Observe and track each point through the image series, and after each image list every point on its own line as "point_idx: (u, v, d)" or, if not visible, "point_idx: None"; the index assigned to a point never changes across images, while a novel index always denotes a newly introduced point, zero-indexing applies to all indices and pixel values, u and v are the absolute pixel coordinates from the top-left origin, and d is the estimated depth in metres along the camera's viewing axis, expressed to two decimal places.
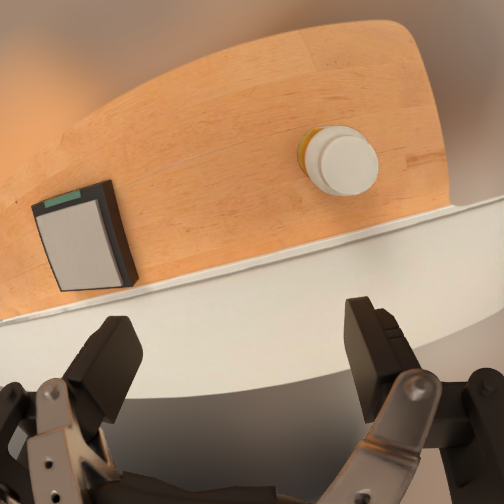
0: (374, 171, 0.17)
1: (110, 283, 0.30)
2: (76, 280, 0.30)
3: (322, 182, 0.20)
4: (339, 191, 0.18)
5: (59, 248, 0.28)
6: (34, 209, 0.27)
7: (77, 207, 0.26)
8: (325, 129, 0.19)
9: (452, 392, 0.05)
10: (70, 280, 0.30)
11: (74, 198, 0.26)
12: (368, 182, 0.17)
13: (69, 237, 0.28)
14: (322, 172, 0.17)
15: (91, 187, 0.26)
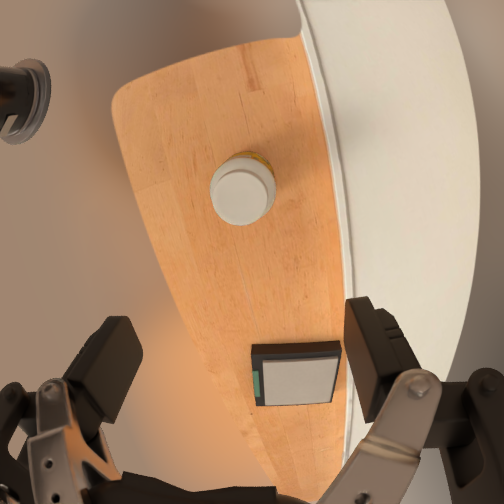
0: (244, 176, 0.19)
1: (333, 366, 0.36)
2: (324, 389, 0.38)
3: None
4: (263, 210, 0.20)
5: (294, 395, 0.38)
6: (259, 404, 0.41)
7: (265, 375, 0.37)
8: None
9: (452, 392, 0.05)
10: (323, 393, 0.38)
11: (258, 375, 0.38)
12: (255, 182, 0.20)
13: (287, 386, 0.38)
14: (245, 224, 0.21)
15: (252, 362, 0.37)
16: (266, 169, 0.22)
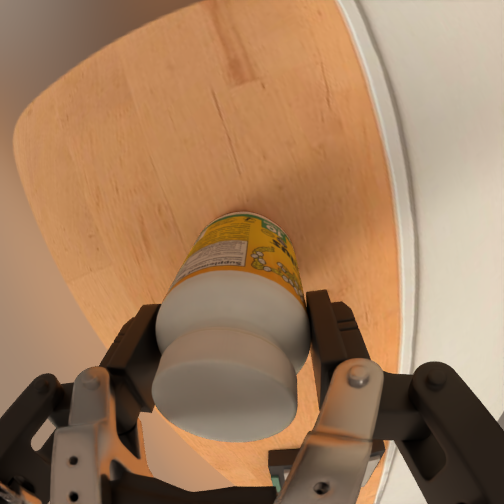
0: (227, 373, 0.06)
1: (373, 464, 0.22)
2: None
3: None
4: (285, 426, 0.07)
5: None
6: None
7: None
8: None
9: (399, 384, 0.06)
10: None
11: (278, 479, 0.24)
12: (260, 384, 0.06)
13: None
14: (244, 440, 0.08)
15: (270, 471, 0.23)
16: (287, 301, 0.08)
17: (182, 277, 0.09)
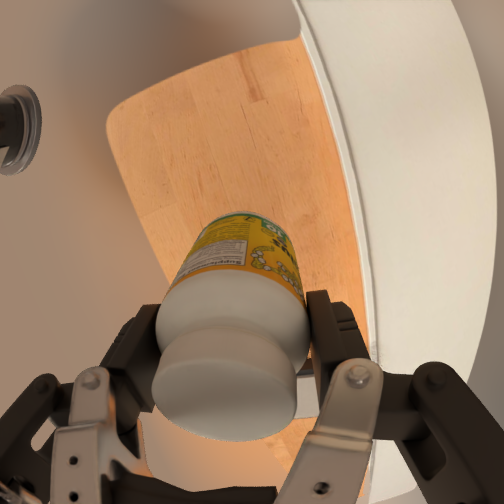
0: (226, 371, 0.06)
1: None
2: None
3: None
4: (284, 425, 0.07)
5: None
6: None
7: None
8: None
9: (399, 384, 0.06)
10: None
11: None
12: (260, 383, 0.06)
13: (311, 400, 0.36)
14: (244, 440, 0.08)
15: None
16: (287, 300, 0.08)
17: (182, 276, 0.09)
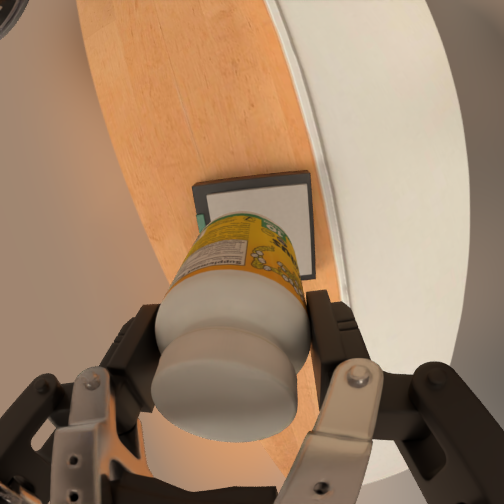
0: (226, 372, 0.06)
1: (303, 198, 0.28)
2: (299, 246, 0.30)
3: None
4: (285, 426, 0.07)
5: None
6: None
7: (213, 219, 0.29)
8: None
9: (399, 384, 0.06)
10: (299, 255, 0.31)
11: (205, 225, 0.30)
12: (260, 384, 0.06)
13: None
14: (244, 441, 0.08)
15: (195, 200, 0.29)
16: (287, 300, 0.08)
17: (182, 276, 0.09)
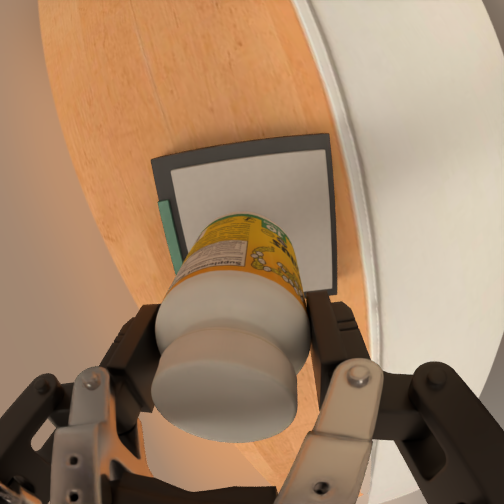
0: (226, 373, 0.06)
1: (319, 171, 0.17)
2: (314, 247, 0.20)
3: None
4: (285, 426, 0.07)
5: None
6: None
7: (181, 208, 0.19)
8: None
9: (399, 384, 0.06)
10: (314, 261, 0.20)
11: (172, 216, 0.20)
12: (260, 384, 0.06)
13: None
14: (244, 441, 0.08)
15: (156, 179, 0.19)
16: (287, 301, 0.08)
17: (182, 277, 0.09)
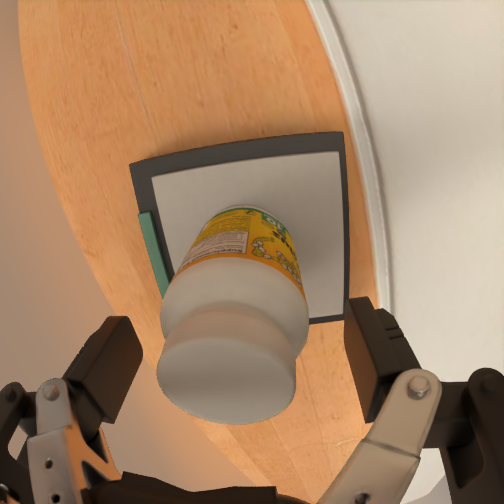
0: (229, 350, 0.07)
1: (332, 178, 0.14)
2: (323, 268, 0.16)
3: None
4: (284, 406, 0.08)
5: None
6: None
7: (165, 222, 0.16)
8: None
9: (452, 392, 0.05)
10: (323, 284, 0.17)
11: (155, 231, 0.16)
12: (260, 361, 0.07)
13: None
14: (245, 423, 0.08)
15: (135, 188, 0.15)
16: (286, 286, 0.09)
17: (186, 264, 0.10)
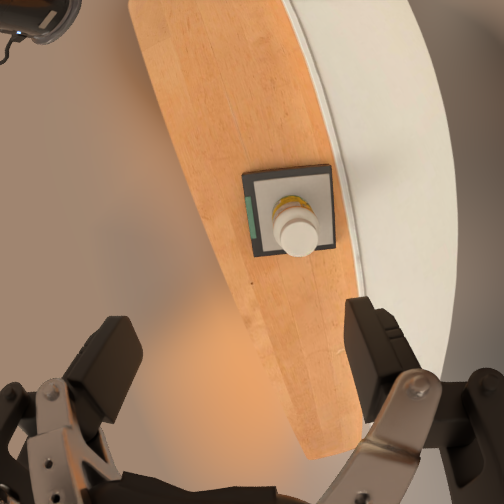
0: (302, 224, 0.29)
1: (326, 184, 0.37)
2: (323, 221, 0.39)
3: None
4: (315, 246, 0.30)
5: None
6: (257, 253, 0.42)
7: (258, 200, 0.38)
8: (276, 241, 0.33)
9: (452, 392, 0.05)
10: (323, 228, 0.39)
11: (251, 205, 0.39)
12: (309, 228, 0.29)
13: None
14: (303, 256, 0.30)
15: (244, 185, 0.38)
16: (313, 215, 0.31)
17: (283, 210, 0.32)
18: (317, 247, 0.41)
